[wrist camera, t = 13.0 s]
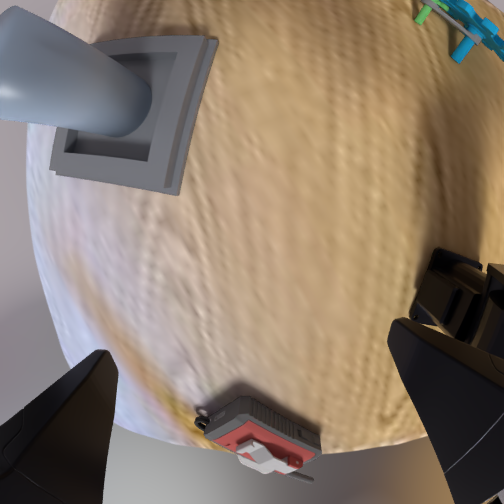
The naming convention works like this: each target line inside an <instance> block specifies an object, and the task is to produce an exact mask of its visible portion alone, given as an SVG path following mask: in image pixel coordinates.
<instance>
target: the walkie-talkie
mask: <svg viewBox="0 0 504 504" xmlns="http://www.w3.org/2000/svg"><path fill="white" fill-rule="evenodd" d="M201 422H202V423H205V424H206V426H205V425H204V424H202V423H201ZM194 423H195V425H196V426H197V427H198V428H199V429H201V430H202V431H204V436H205V438H207V439H209V440H210V441H212V442H214V443H216V444H218V445H220V446H222V447H224V448H226V449H228V450H230V451H232V452H234V453H236V454H237V456H238V458H239V460H240V462H241V464H244V465H246V466H248V467H250V468H253V469H255V470H258V471H260V472H261V473H263V474H267V473H270V472H275V473H280V474H283V475H285V476H288V477H291V478H294V479H297V480H300V481H303V482H306V483H313V481H314V479H313V478H312V477H309V476H306V475H303V474H301V473H298V472H295V470H297V469H299V468H301V467H302V466H303V464H306V463H308V462H310V461H313V460H315V459H316V458H318V456H320V455H321V454H322V450H321V443H320V436H319V435H317V434H315V433H313V432H311V431H309V430H307V429H305V428H303V427H301V426H300V425H298V424H296V423H294V422H291V421H290V420H287V418H284V417H283V416H280V414H277V413H276V412H275V411H274V412H273V411H272V409H268V407H265V406H264V405H263V404H260V402H257V401H255V399H252V398H251V397H250V396H240V397H239V398H237V399H236V400H234V401H233V402H231V403H230V404H228V405H227V406H225V407H224V408H222V409H221V410H219V411H217V412H216V413H214V414H213V415H211V416H210V417H208V418H206V417H203V416H199V417H196V419H195V422H194Z"/></svg>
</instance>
